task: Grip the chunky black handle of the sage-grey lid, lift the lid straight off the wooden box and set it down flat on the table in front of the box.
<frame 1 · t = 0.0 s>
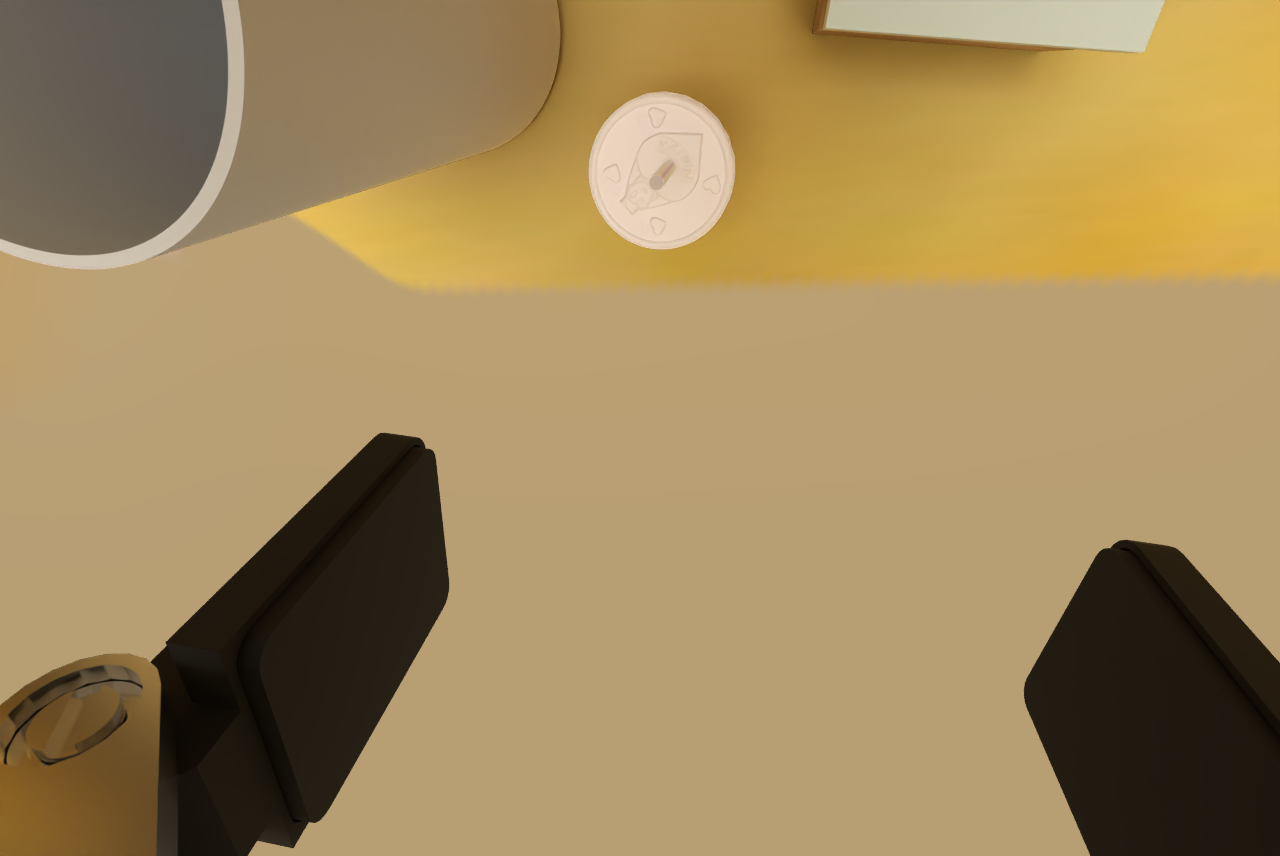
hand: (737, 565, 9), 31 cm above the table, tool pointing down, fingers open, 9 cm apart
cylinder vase: (452, 27, 34), on the table
smoothie: (681, 150, 36), on the table
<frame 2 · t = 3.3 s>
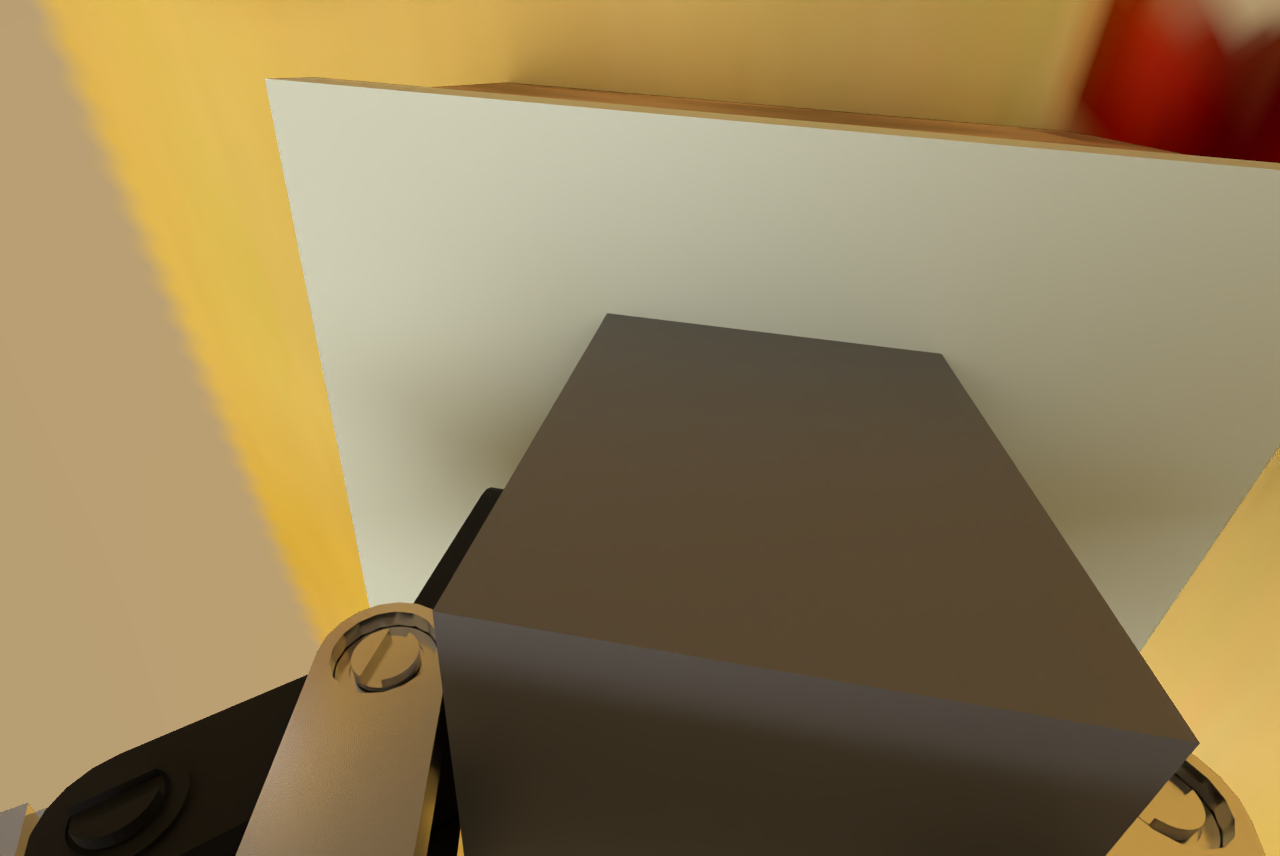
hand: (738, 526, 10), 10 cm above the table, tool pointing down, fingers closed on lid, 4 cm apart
wooden box: (744, 315, 19), on the table
lid: (740, 462, 12), point 8 cm above the table, touching gripper, wooden box
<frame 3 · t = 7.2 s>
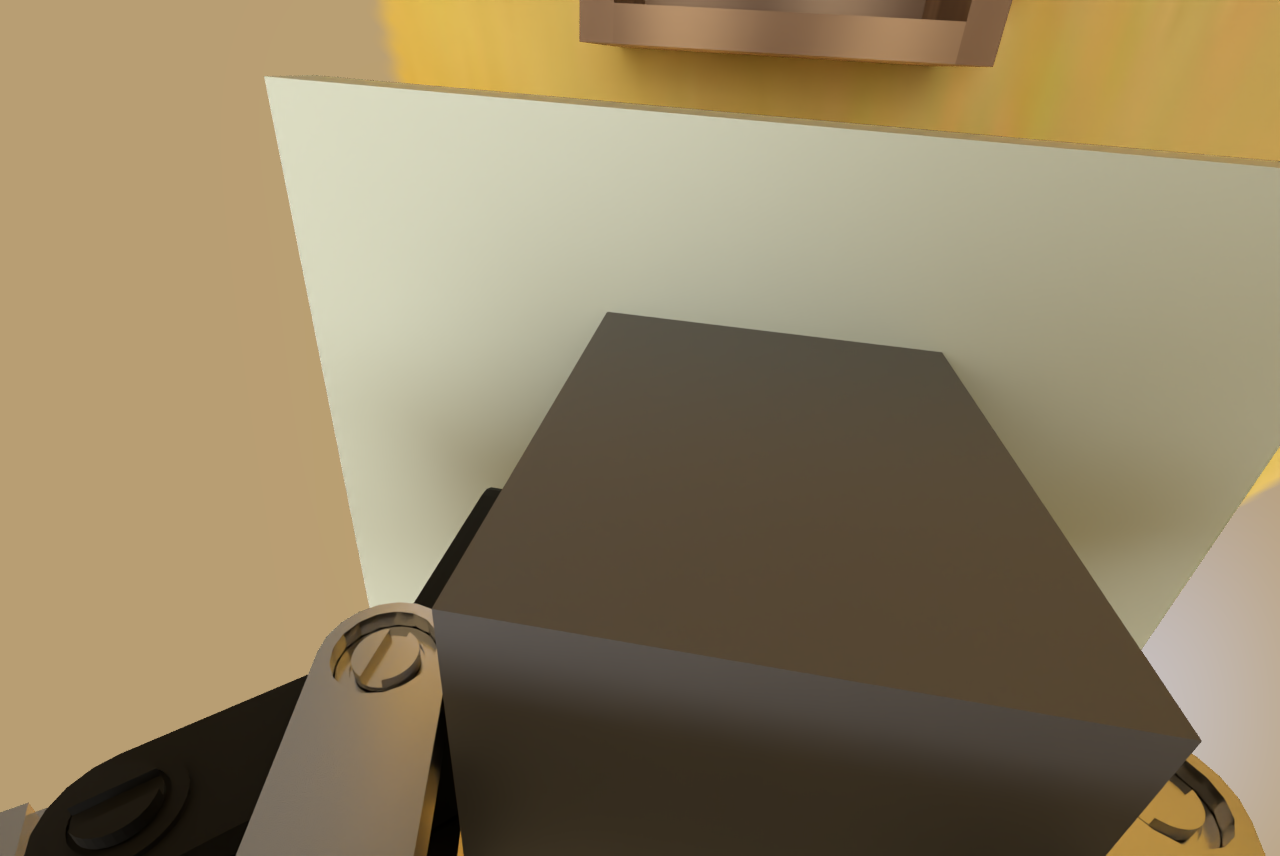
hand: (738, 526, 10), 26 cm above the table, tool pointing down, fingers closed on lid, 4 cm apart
lid: (740, 460, 12), point 24 cm above the table, touching gripper
when the fingers open (4 cm above the table, at t = 11.1 s): lid drops 2 cm, point 1 cm above the table.
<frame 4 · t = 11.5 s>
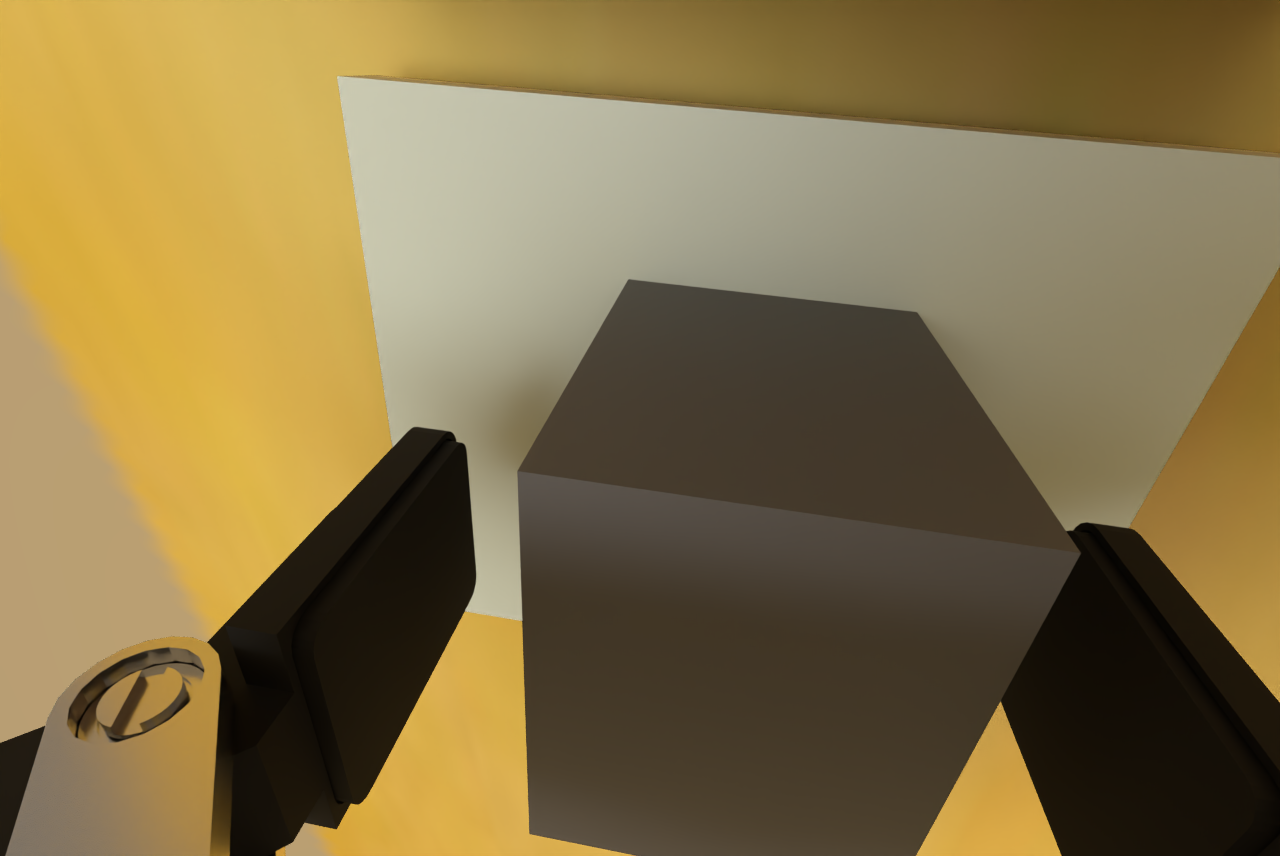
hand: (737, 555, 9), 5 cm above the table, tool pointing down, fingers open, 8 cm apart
lid: (743, 417, 13), point 1 cm above the table
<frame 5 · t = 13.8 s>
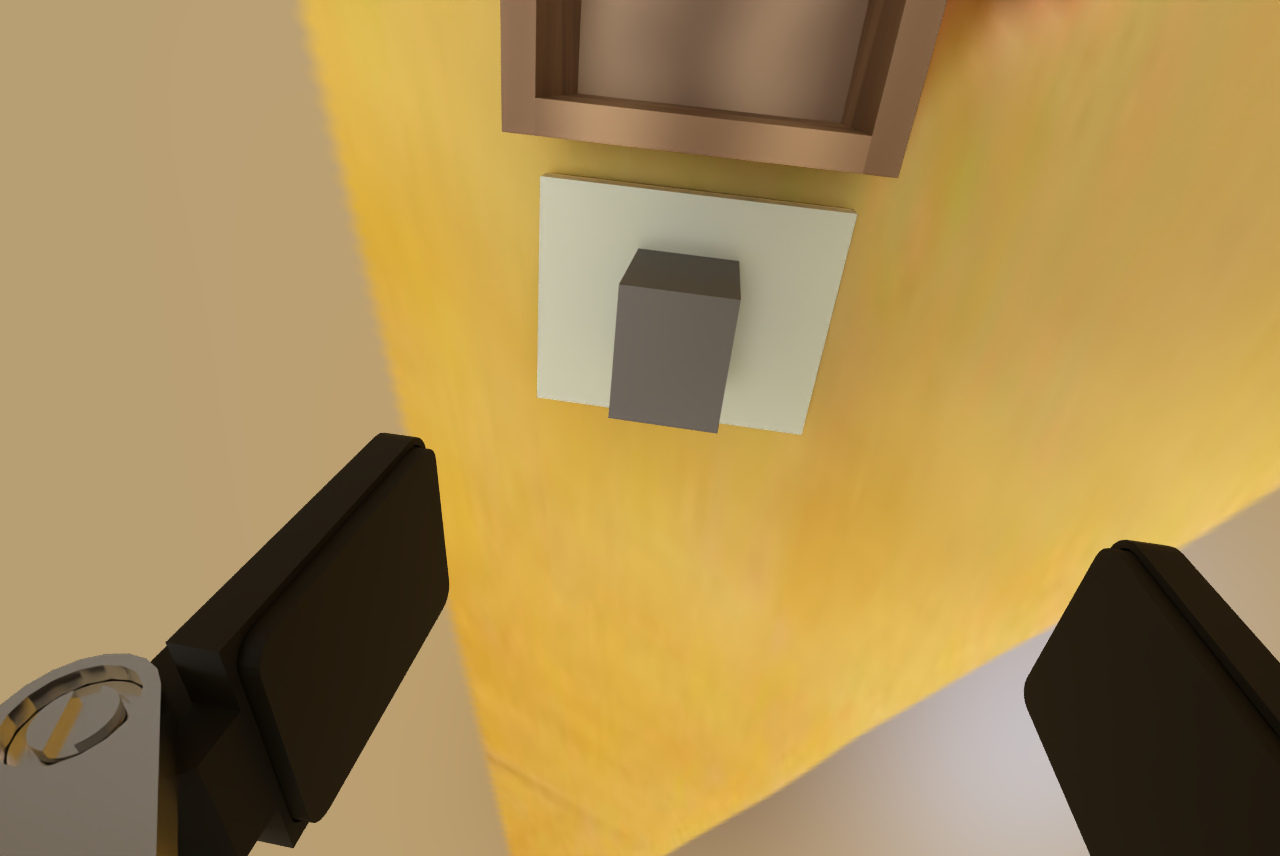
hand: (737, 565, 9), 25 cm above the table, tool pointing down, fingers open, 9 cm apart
lid: (682, 307, 33), point 1 cm above the table
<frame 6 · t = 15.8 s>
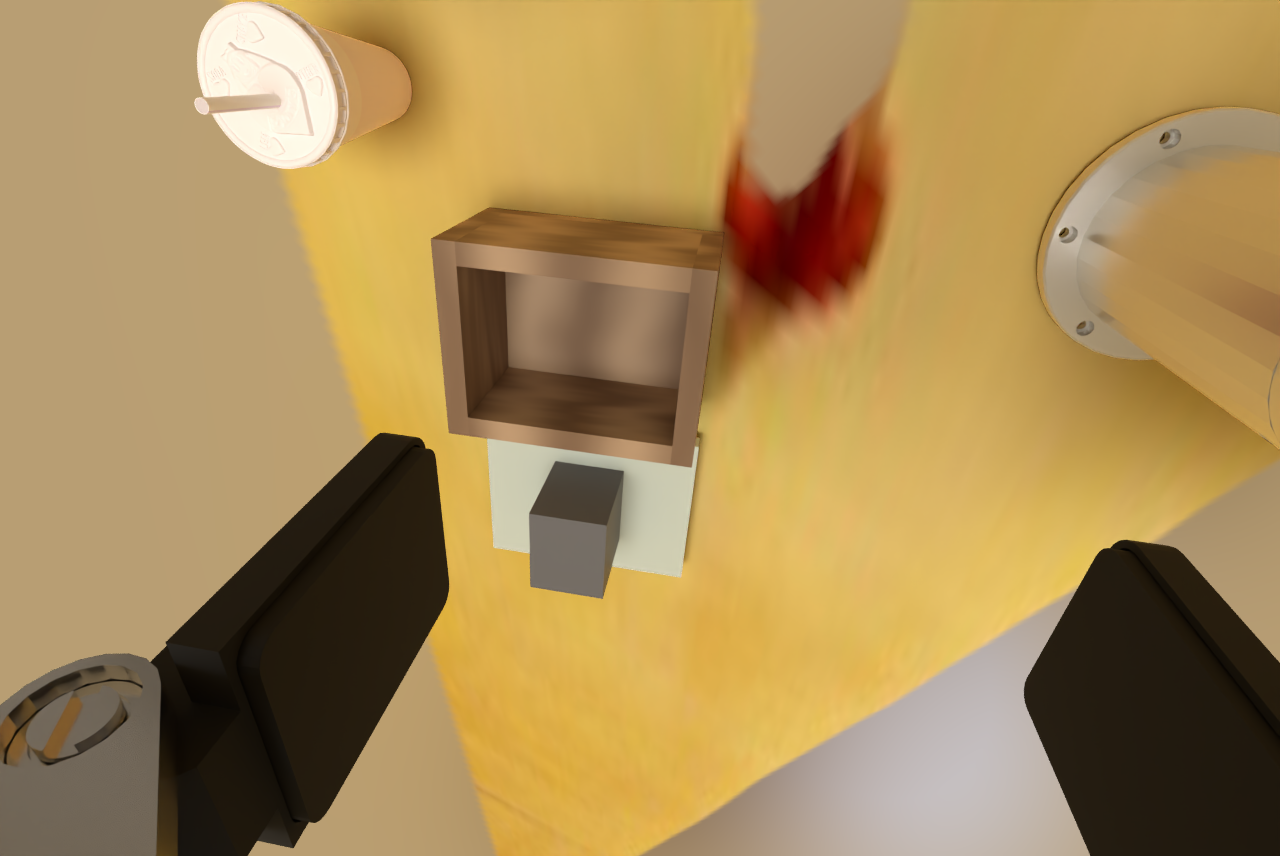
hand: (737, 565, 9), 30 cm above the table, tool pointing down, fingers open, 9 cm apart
wooden box: (600, 309, 40), on the table
smoothie: (381, 84, 36), on the table
lid: (591, 491, 46), point 1 cm above the table
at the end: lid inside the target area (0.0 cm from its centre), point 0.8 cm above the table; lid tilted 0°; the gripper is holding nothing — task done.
